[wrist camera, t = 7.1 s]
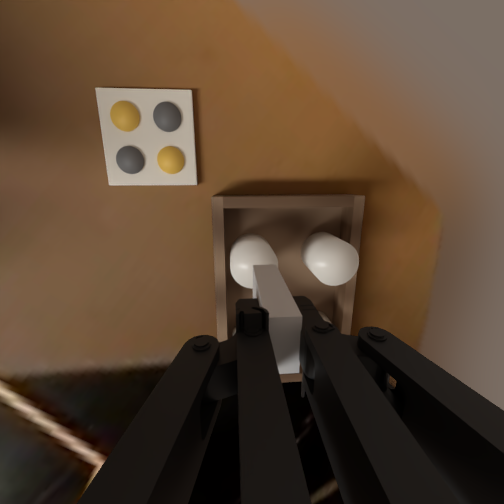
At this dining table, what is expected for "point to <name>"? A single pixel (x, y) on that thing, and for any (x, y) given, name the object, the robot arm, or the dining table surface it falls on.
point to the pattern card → (148, 136)
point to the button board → (285, 250)
